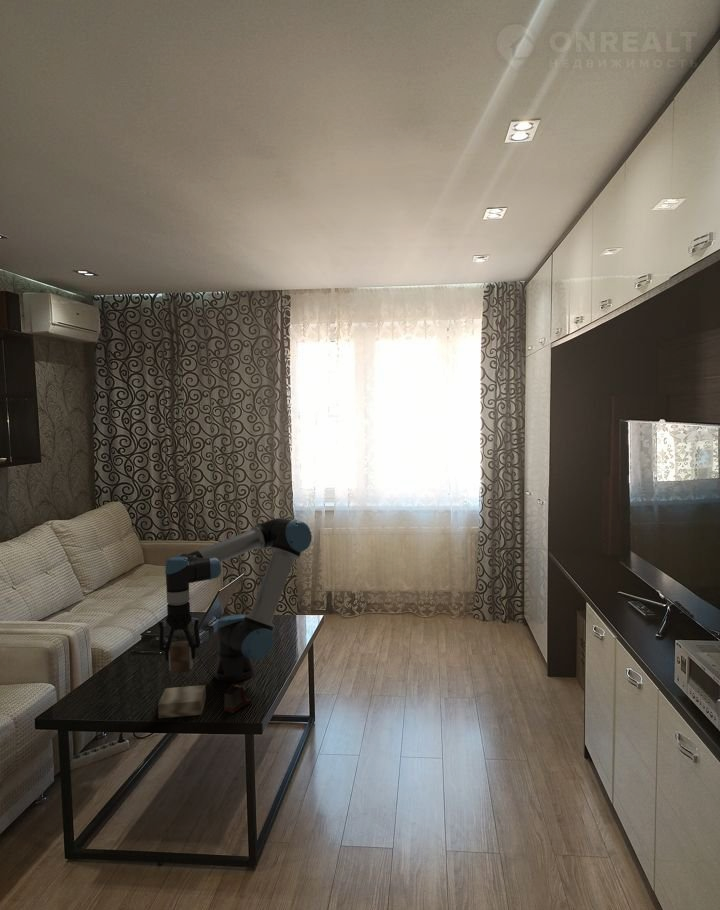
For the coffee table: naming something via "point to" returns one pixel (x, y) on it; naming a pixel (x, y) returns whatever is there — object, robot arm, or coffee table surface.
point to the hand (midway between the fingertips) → (181, 668)
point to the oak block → (182, 701)
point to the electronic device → (235, 699)
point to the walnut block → (179, 656)
